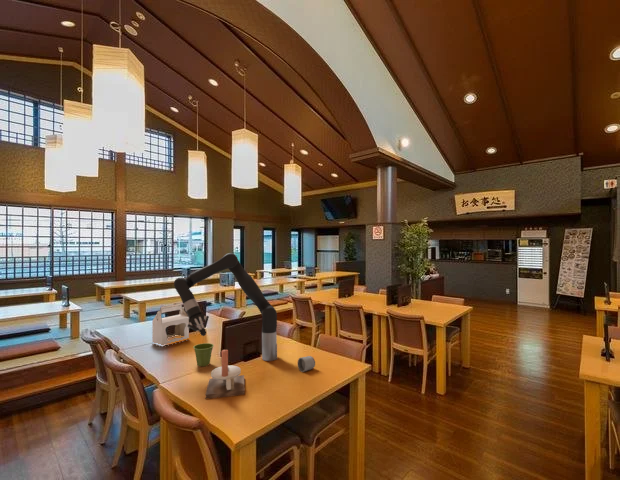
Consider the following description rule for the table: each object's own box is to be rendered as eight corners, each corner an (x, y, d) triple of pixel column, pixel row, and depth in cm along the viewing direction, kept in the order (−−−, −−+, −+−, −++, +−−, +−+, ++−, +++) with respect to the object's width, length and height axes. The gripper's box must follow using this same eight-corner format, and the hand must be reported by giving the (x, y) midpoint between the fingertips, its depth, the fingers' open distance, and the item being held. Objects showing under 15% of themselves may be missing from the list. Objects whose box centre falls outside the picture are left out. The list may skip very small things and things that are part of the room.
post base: (244, 378, 165) (244, 364, 166) (244, 394, 148) (244, 377, 148) (209, 382, 162) (209, 367, 162) (205, 398, 144) (205, 381, 144)
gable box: (161, 347, 220) (161, 308, 221) (151, 344, 227) (152, 306, 228) (189, 339, 238) (189, 303, 239) (179, 336, 246) (179, 302, 246)
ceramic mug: (316, 369, 177) (316, 356, 177) (305, 373, 171) (305, 359, 172) (304, 364, 185) (304, 352, 185) (294, 368, 179) (293, 355, 180)
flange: (221, 374, 164) (221, 341, 164) (245, 377, 160) (245, 343, 160) (204, 386, 149) (204, 351, 150) (230, 390, 145) (230, 353, 146)
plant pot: (207, 369, 180) (207, 349, 180) (189, 367, 182) (189, 348, 182) (217, 361, 191) (217, 343, 191) (200, 360, 194) (200, 342, 194)
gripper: (181, 311, 173) (193, 339, 168) (204, 301, 180) (216, 328, 176) (180, 315, 179) (192, 342, 174) (202, 305, 186) (214, 331, 181)
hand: (204, 335), depth 175 cm, fingers closed
